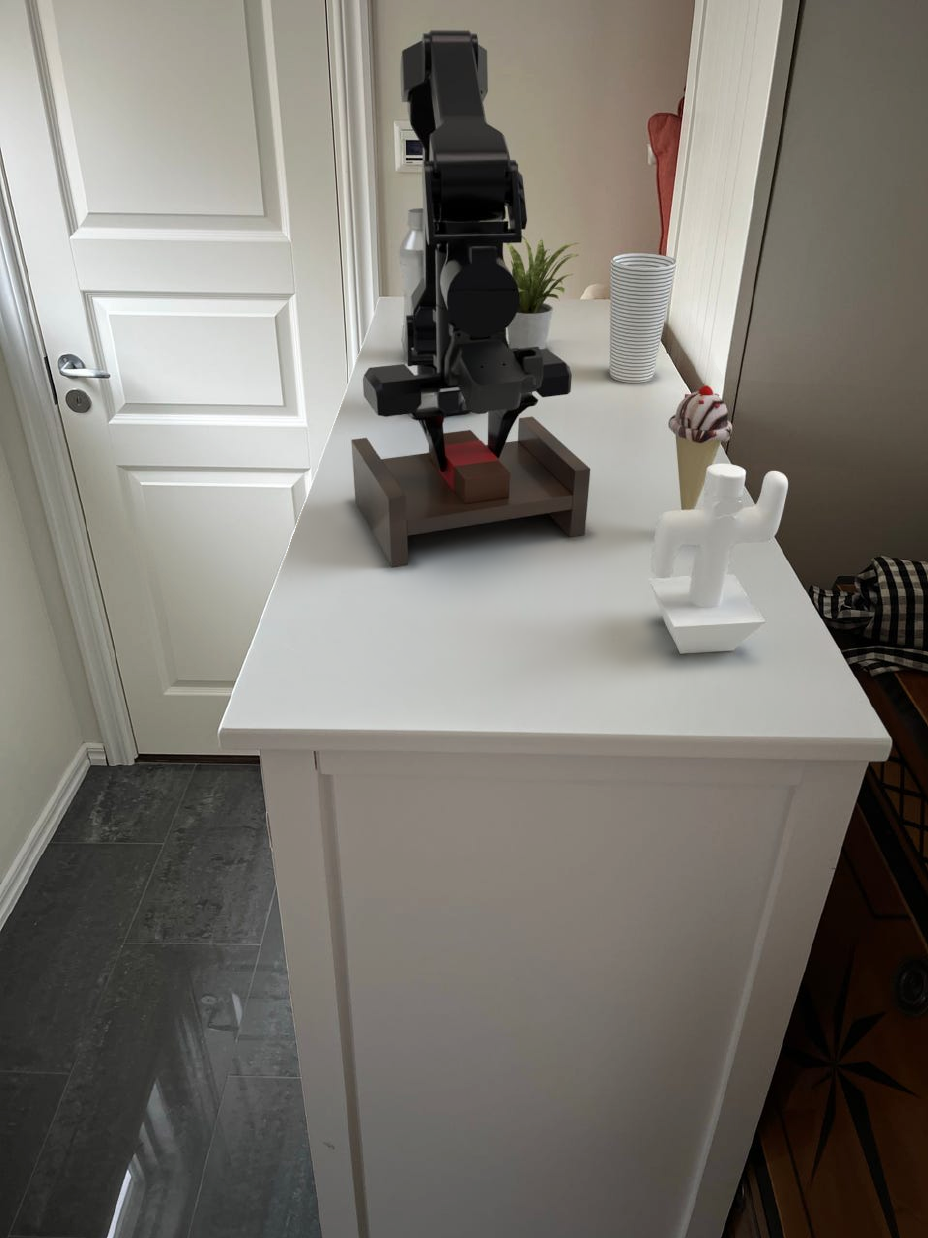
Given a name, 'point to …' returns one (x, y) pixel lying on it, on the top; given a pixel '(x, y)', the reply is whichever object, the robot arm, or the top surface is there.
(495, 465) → the chocolate bar
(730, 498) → the figurine
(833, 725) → the top surface
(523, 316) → the house plant
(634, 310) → the cup
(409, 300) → the plastic bottle
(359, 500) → the shelf
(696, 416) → the ice cream cone
